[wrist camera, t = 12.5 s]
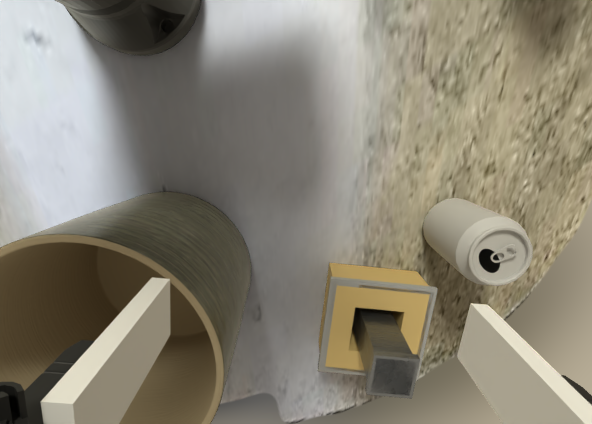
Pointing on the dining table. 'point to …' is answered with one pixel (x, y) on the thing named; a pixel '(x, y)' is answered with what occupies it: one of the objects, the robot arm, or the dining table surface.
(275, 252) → the dining table surface
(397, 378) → the wedge pin
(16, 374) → the planter
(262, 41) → the dining table surface
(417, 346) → the tan hollow block
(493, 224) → the can
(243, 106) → the dining table surface
